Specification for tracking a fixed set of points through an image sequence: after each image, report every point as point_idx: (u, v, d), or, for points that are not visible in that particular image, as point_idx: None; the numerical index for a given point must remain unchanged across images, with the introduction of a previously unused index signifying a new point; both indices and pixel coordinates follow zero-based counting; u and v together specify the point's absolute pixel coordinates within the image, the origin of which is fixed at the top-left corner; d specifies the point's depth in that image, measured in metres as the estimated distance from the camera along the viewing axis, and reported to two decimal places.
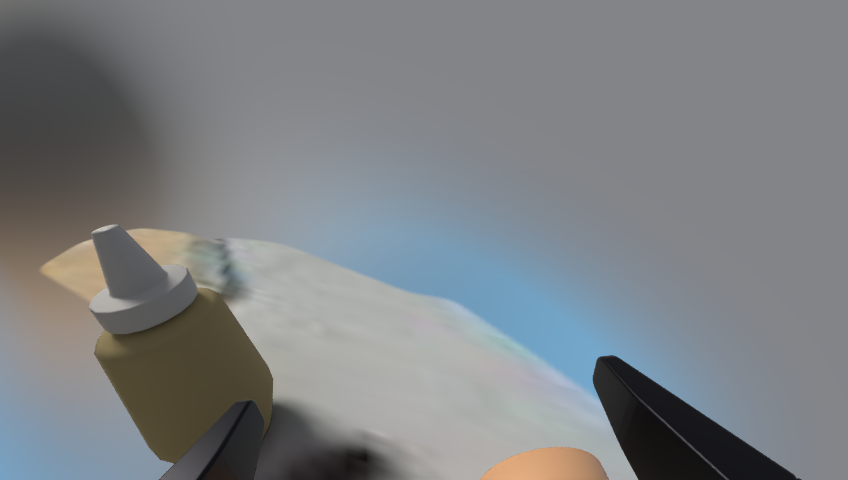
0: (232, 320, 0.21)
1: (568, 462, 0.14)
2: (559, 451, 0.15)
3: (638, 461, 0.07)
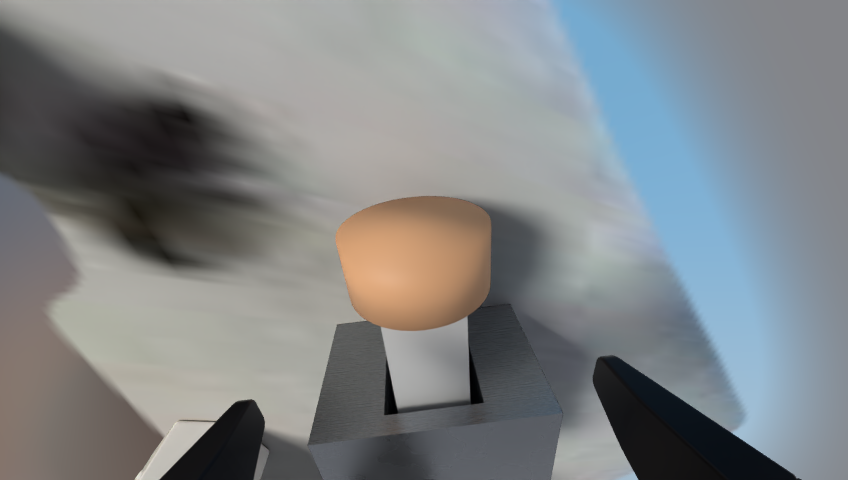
0: None
1: (442, 275, 0.11)
2: (435, 266, 0.11)
3: (638, 461, 0.07)
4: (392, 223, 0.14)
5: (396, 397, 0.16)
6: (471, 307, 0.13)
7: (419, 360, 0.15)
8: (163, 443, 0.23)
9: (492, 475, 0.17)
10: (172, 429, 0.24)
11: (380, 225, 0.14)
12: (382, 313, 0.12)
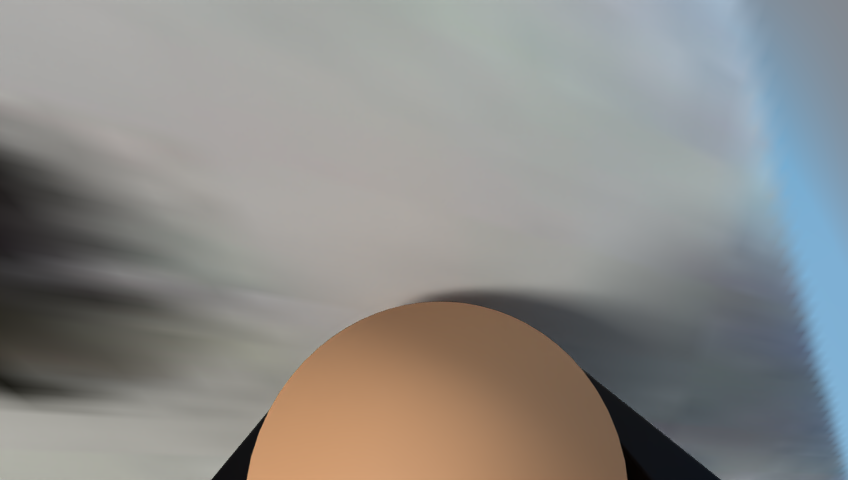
0: None
1: None
2: None
3: None
4: (384, 407, 0.06)
5: None
6: None
7: None
8: None
9: None
10: None
11: (357, 412, 0.06)
12: None
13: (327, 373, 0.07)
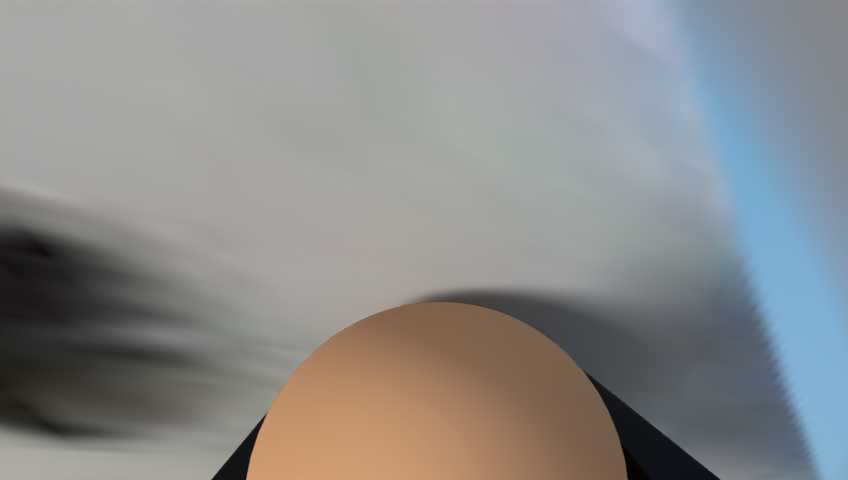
0: None
1: None
2: None
3: None
4: (384, 407, 0.06)
5: None
6: None
7: None
8: None
9: None
10: None
11: (357, 412, 0.06)
12: None
13: (327, 373, 0.07)
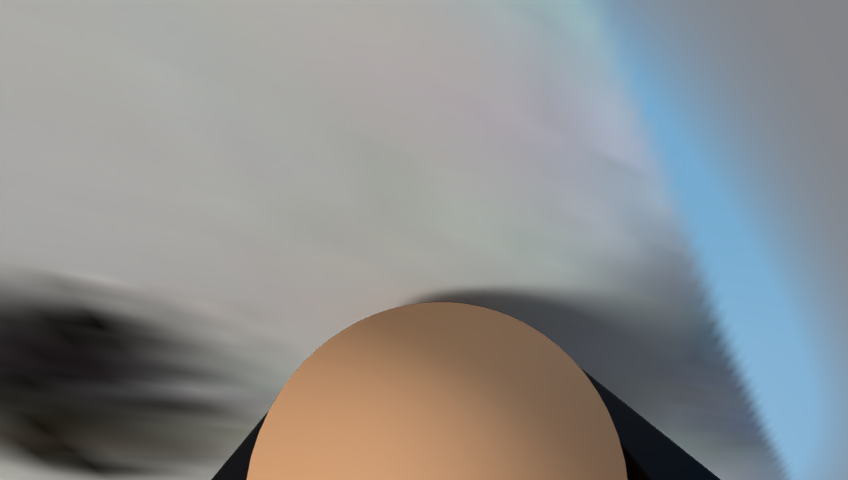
0: None
1: None
2: None
3: None
4: (384, 407, 0.06)
5: None
6: None
7: None
8: None
9: None
10: None
11: (357, 412, 0.06)
12: None
13: (327, 373, 0.07)
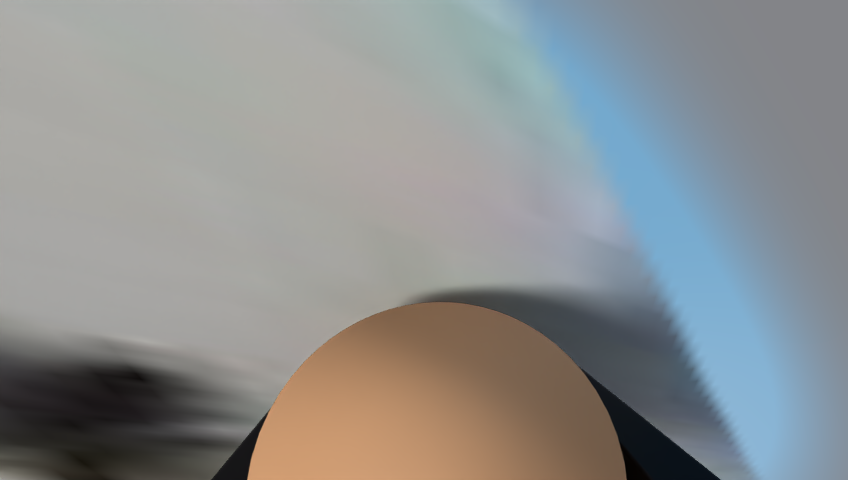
0: None
1: None
2: None
3: None
4: (384, 408, 0.06)
5: None
6: None
7: None
8: None
9: None
10: None
11: (357, 413, 0.06)
12: None
13: (327, 374, 0.07)
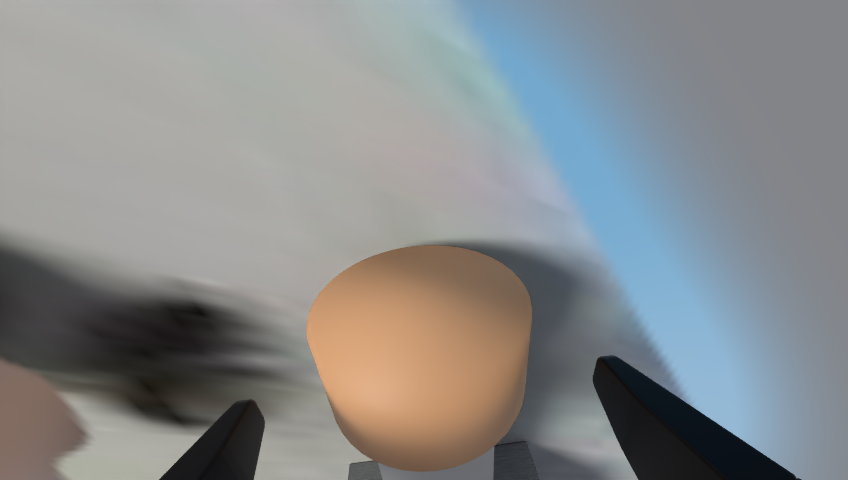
0: None
1: (465, 404, 0.07)
2: (456, 394, 0.07)
3: (638, 461, 0.07)
4: (389, 297, 0.10)
5: None
6: (504, 430, 0.09)
7: (426, 477, 0.11)
8: None
9: None
10: None
11: (372, 300, 0.10)
12: (373, 446, 0.08)
13: (350, 283, 0.11)
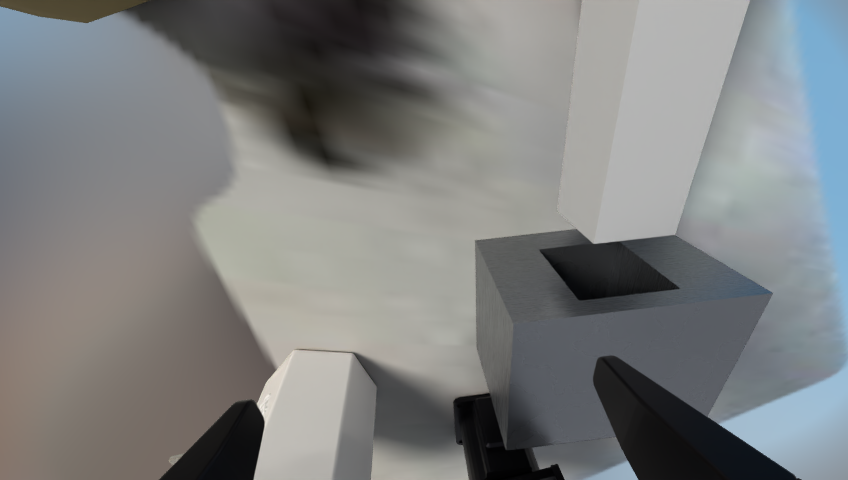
0: None
1: None
2: None
3: (638, 461, 0.07)
4: None
5: (619, 118, 0.12)
6: None
7: (673, 39, 0.11)
8: (288, 367, 0.23)
9: (673, 372, 0.17)
10: (292, 356, 0.24)
11: None
12: None
13: None
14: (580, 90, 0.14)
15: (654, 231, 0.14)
